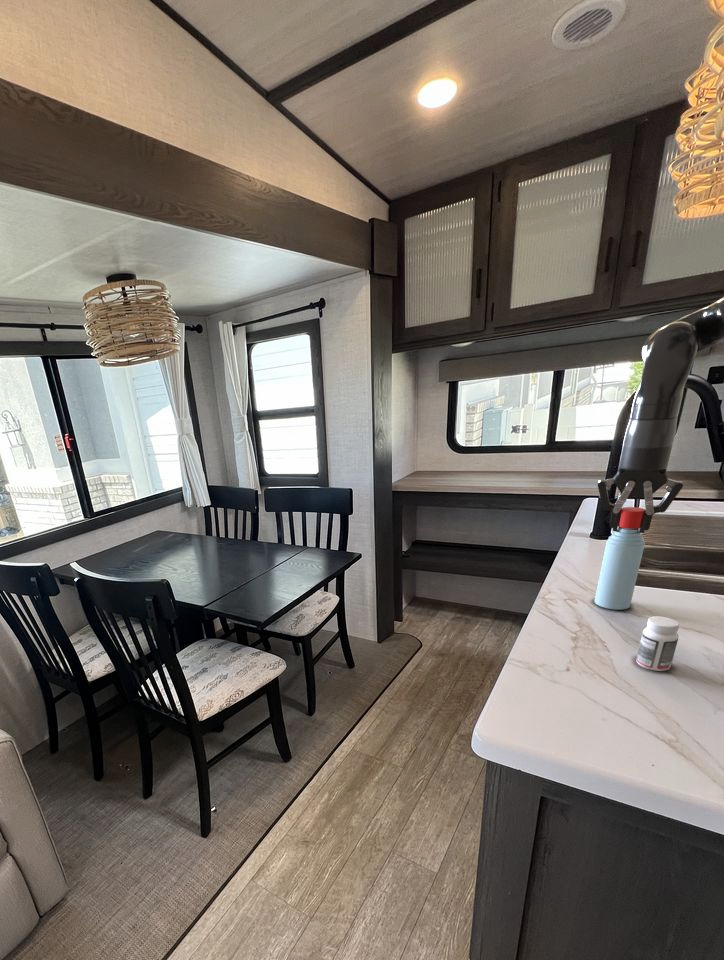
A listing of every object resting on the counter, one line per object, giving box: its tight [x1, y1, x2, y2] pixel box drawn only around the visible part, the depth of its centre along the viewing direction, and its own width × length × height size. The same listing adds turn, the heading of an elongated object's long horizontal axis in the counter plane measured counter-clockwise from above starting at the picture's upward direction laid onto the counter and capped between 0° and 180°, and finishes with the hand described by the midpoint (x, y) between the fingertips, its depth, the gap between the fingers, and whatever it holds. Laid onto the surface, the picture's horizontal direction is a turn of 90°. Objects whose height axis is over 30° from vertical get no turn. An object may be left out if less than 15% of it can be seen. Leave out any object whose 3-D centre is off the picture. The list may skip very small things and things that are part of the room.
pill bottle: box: [635, 615, 680, 672], centre depth 79 cm, size 5×5×8 cm
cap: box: [618, 506, 646, 529], centre depth 94 cm, size 4×4×4 cm
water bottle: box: [594, 527, 646, 611], centre depth 98 cm, size 6×6×20 cm
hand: (628, 530), depth 95 cm, fingers closed on cap, 4 cm apart
